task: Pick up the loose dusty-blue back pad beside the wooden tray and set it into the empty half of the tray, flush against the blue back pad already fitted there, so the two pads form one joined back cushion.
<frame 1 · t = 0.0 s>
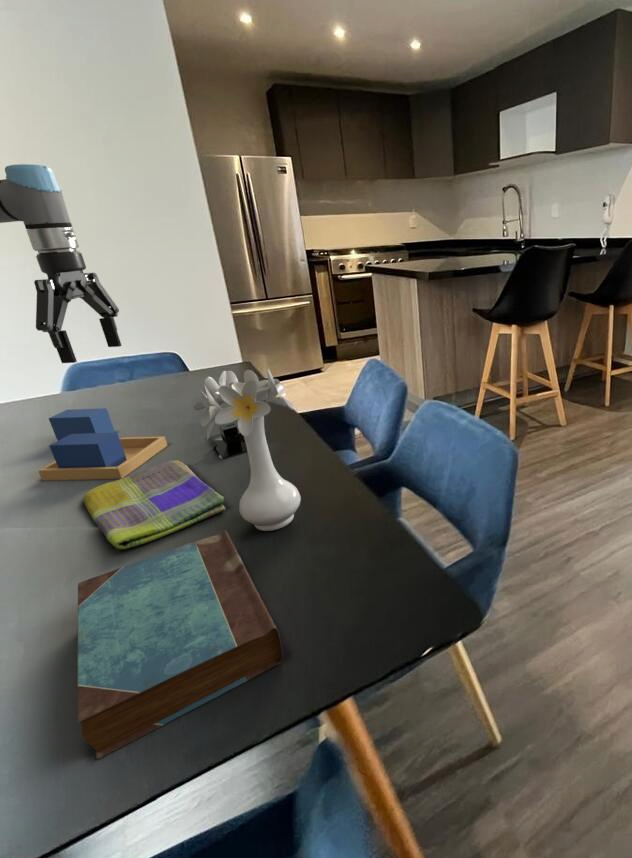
hand: (93, 354, 107), 21 cm above the table, tool pointing down, fingers open, 13 cm apart
book: (181, 637, 58), on the table
left back pad: (88, 440, 116), on the table
black box: (232, 445, 109), on the table
dish towel: (155, 507, 86), on the table
right back pad: (95, 470, 100), resting on wooden tray
wooden tray: (109, 464, 103), on the table
flower vase: (270, 521, 80), on the table
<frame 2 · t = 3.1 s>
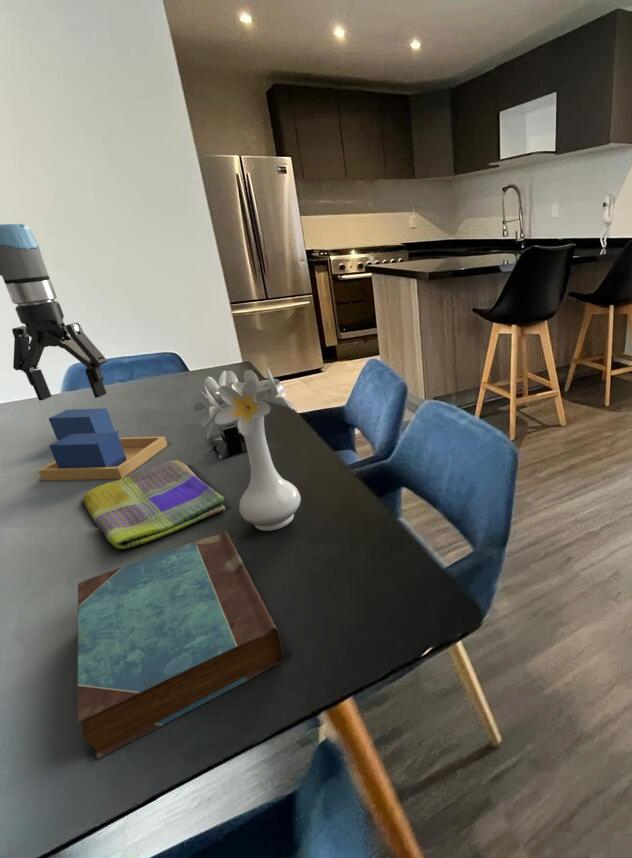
hand: (73, 397, 112), 11 cm above the table, tool pointing down, fingers open, 13 cm apart
nothing on the table moved.
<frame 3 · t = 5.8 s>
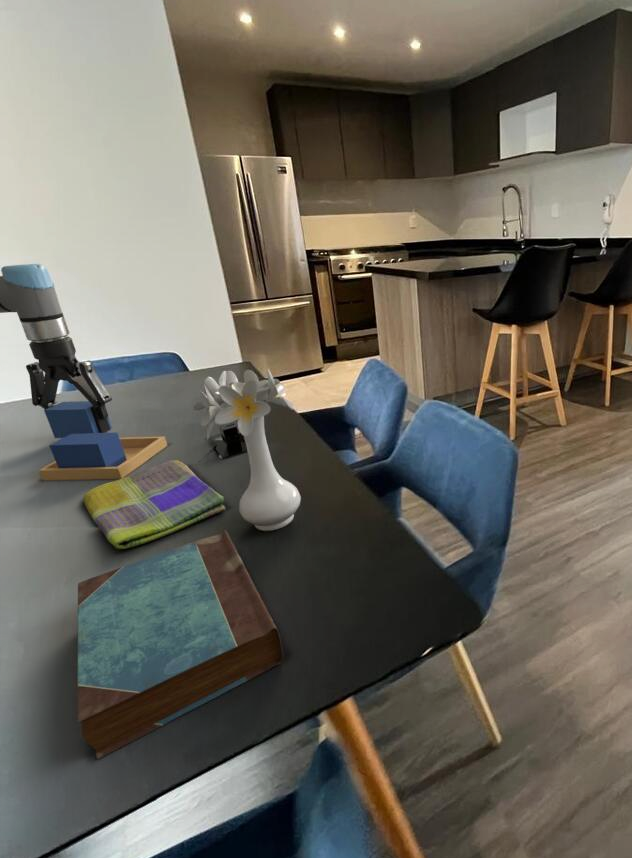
hand: (83, 432, 116), 2 cm above the table, tool pointing down, fingers closed on left back pad, 10 cm apart
left back pad: (84, 433, 116), point 2 cm above the table, touching gripper
everything else where it was.
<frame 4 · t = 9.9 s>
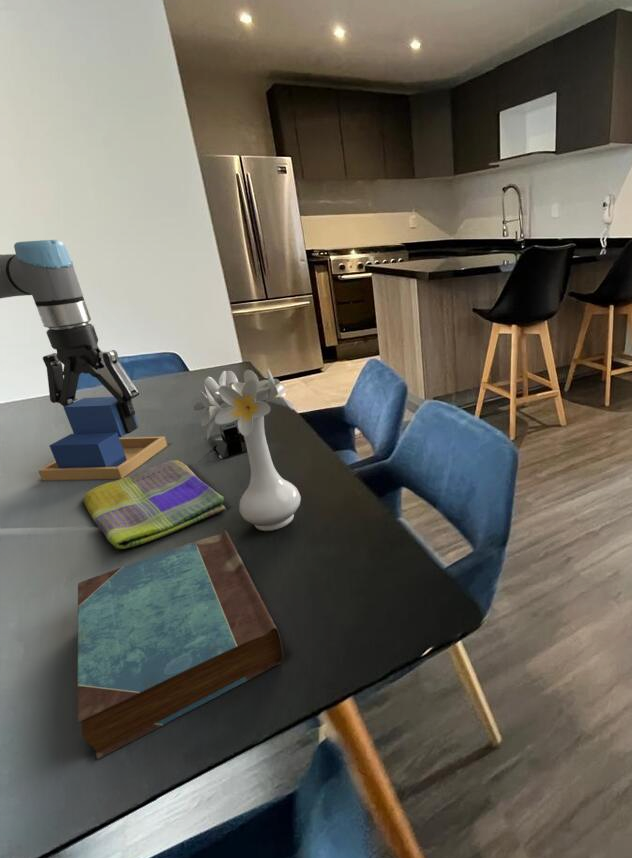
hand: (107, 431, 103), 6 cm above the table, tool pointing down, fingers closed on left back pad, 10 cm apart
left back pad: (107, 432, 103), point 6 cm above the table, touching gripper
everything else where it was.
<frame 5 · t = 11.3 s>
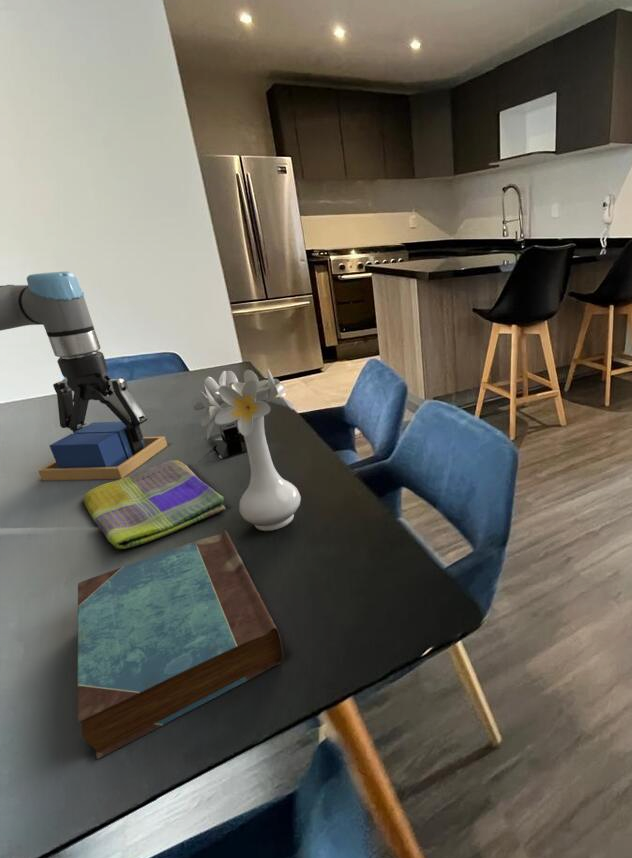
hand: (115, 455, 105), 1 cm above the table, tool pointing down, fingers closed on left back pad, 10 cm apart
left back pad: (116, 456, 105), point 1 cm above the table, touching gripper
everything else where it was.
when the fingers open (1 cm above the table, at t = 13.9 s): left back pad stays where it is, resting on wooden tray.
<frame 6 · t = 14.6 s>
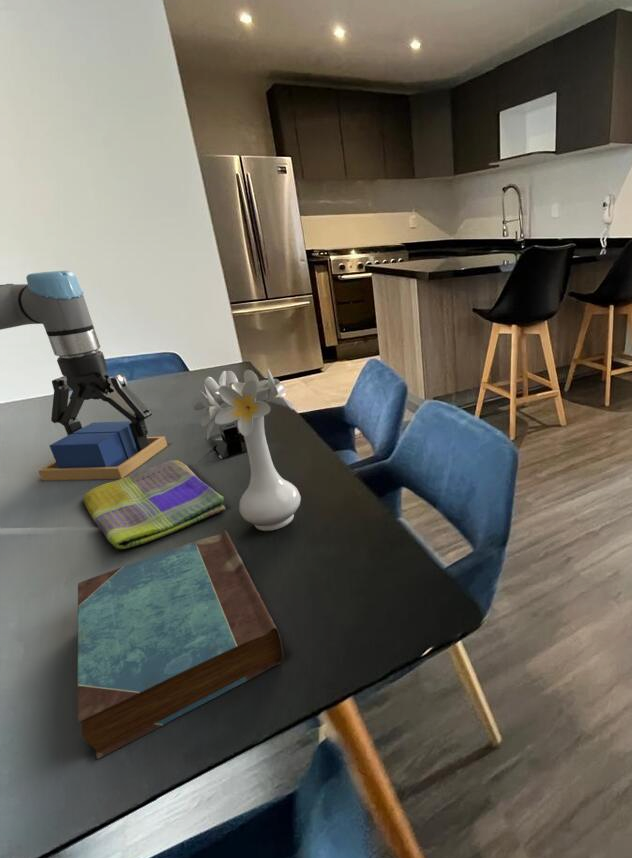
hand: (114, 451, 105), 2 cm above the table, tool pointing down, fingers open, 13 cm apart
left back pad: (116, 456, 105), point 1 cm above the table, touching wooden tray
everything else where it was.
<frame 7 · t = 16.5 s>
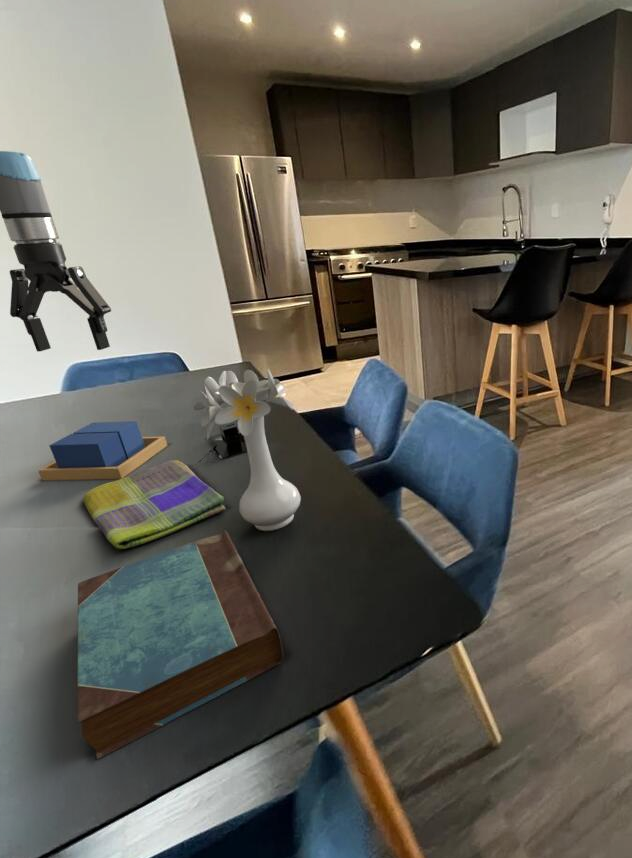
hand: (73, 349, 104), 23 cm above the table, tool pointing down, fingers open, 13 cm apart
nothing on the table moved.
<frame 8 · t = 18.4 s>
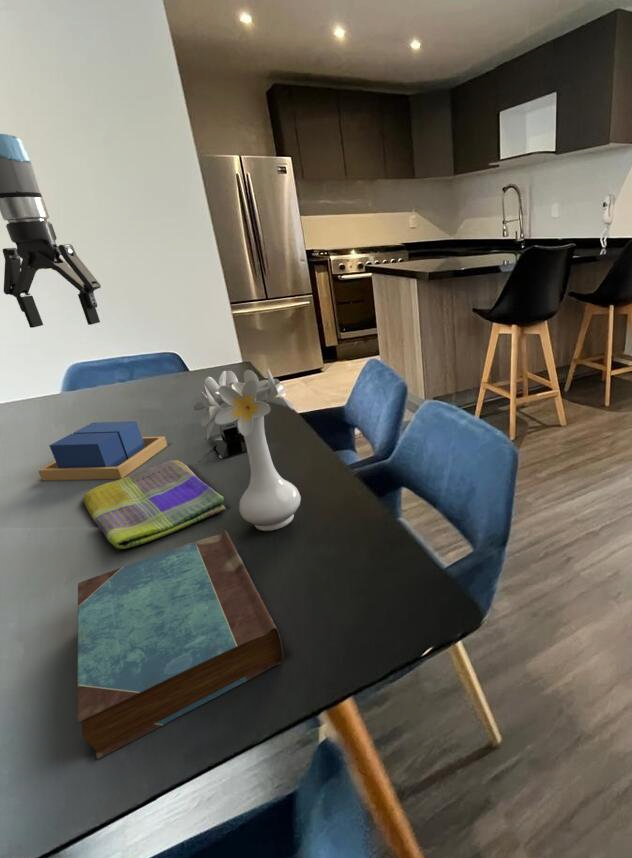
hand: (65, 325, 109), 27 cm above the table, tool pointing down, fingers open, 13 cm apart
nothing on the table moved.
at the end: left back pad 0.5 cm from the target spot in the wooden tray, point 0.6 cm above the wooden tray's base; left back pad 6.0 cm from the right back pad (horizontally); left back pad tilted 0° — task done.
